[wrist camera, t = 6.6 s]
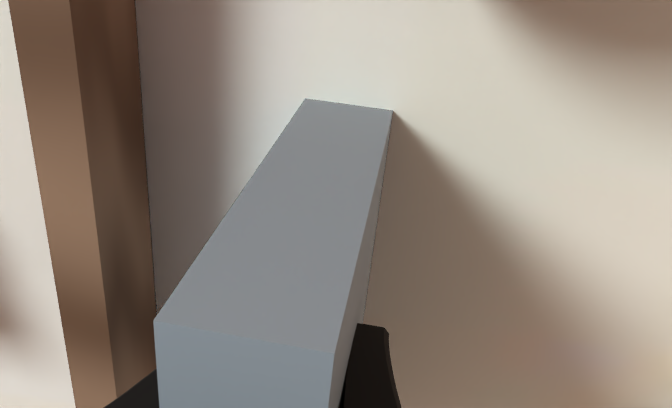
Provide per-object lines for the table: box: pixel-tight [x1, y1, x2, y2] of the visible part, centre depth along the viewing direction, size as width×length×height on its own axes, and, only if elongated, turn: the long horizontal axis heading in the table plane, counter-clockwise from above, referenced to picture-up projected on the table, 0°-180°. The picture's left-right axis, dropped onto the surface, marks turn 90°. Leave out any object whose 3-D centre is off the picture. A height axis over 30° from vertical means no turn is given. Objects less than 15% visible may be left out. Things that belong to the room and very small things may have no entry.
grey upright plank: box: [153, 98, 393, 408], centre depth 12 cm, size 2×10×8 cm, turn 175°
